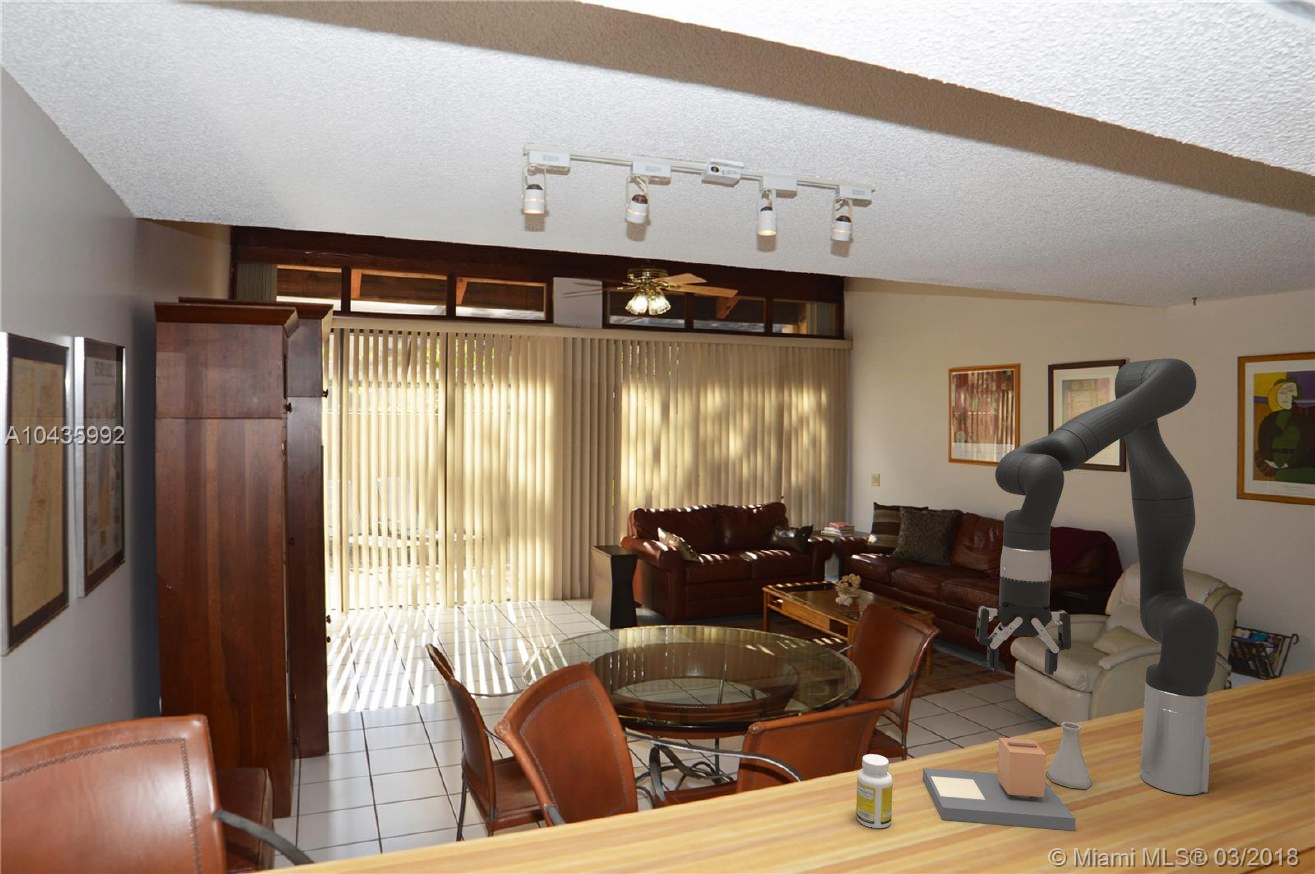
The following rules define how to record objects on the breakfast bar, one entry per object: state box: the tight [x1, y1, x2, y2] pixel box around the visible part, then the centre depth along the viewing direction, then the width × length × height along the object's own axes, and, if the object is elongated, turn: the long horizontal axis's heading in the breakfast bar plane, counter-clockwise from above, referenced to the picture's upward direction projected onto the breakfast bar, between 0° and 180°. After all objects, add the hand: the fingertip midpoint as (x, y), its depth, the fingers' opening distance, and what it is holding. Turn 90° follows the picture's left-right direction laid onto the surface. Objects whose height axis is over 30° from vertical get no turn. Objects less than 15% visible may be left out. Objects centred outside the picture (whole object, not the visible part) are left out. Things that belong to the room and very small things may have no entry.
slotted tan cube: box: [996, 737, 1047, 797], centre depth 131 cm, size 6×6×7 cm
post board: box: [922, 767, 1076, 832], centre depth 132 cm, size 20×14×9 cm
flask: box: [1045, 721, 1093, 790], centre depth 141 cm, size 7×7×10 cm
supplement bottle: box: [855, 753, 894, 829], centre depth 125 cm, size 5×5×10 cm
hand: (1021, 671), depth 131 cm, fingers open, 8 cm apart
